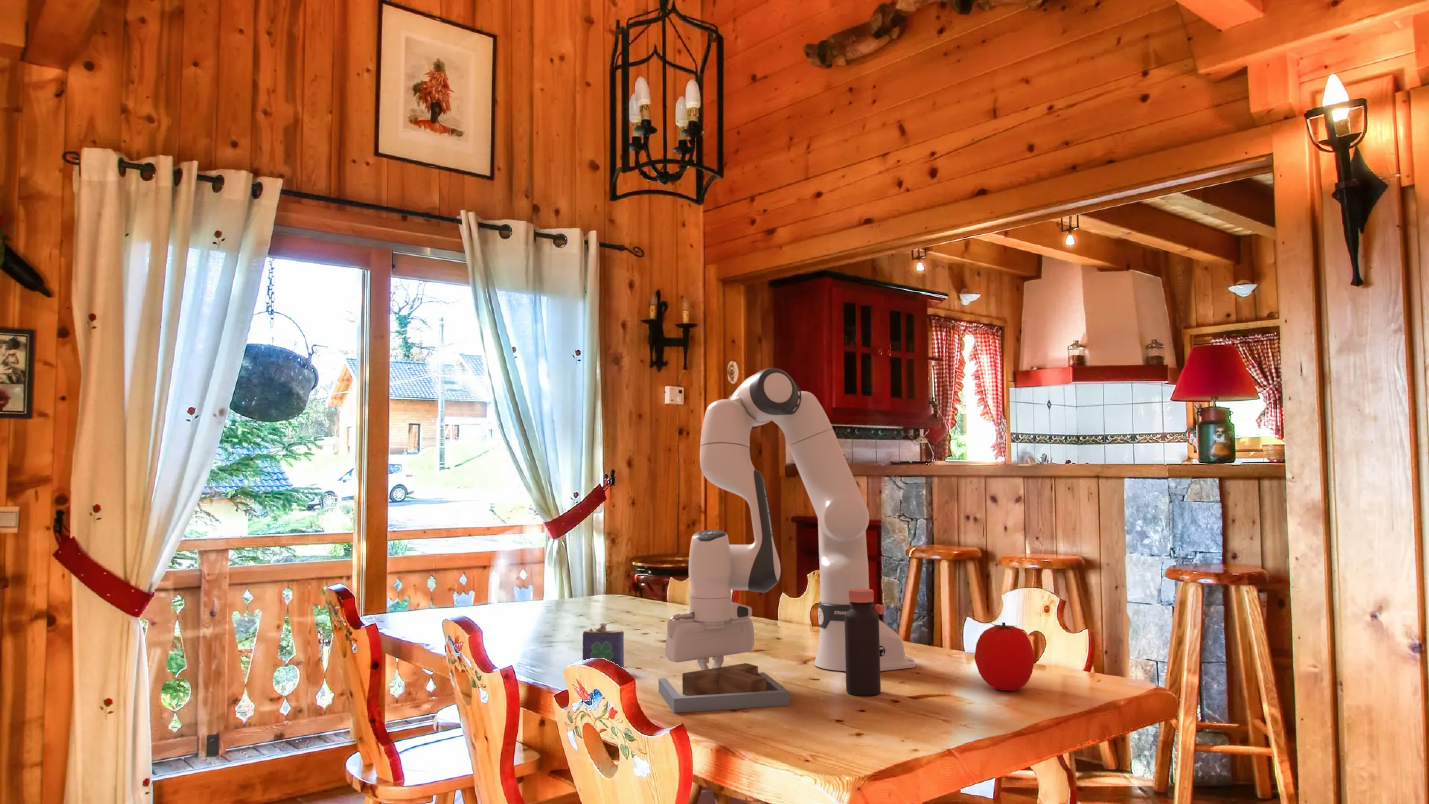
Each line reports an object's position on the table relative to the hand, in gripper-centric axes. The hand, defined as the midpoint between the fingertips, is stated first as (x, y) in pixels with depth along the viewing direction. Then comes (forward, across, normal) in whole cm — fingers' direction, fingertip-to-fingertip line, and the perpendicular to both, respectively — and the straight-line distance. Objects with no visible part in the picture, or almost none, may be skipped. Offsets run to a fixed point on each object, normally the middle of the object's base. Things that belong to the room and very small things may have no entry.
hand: (710, 679), depth 191 cm
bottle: (+2, +21, -22) cm, 31 cm away
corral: (+2, -4, -9) cm, 9 cm away
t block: (+2, 0, -8) cm, 8 cm away
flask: (+2, -10, +28) cm, 29 cm away
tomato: (+2, +45, -38) cm, 59 cm away
